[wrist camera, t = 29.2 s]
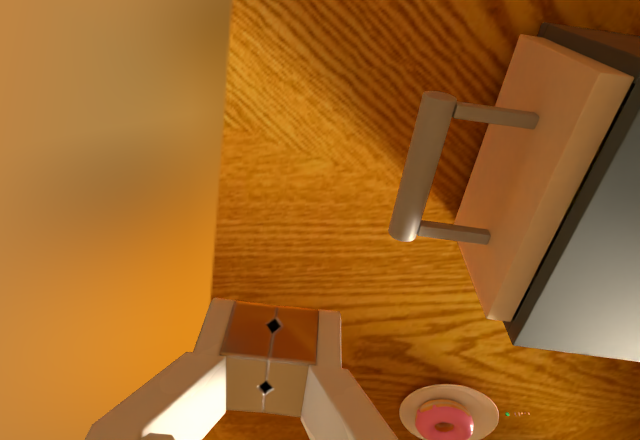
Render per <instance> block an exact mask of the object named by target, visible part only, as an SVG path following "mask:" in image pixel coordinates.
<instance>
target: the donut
mask: <svg viewBox="0 0 640 440" xmlns="http://www.w3.org/2000/svg"><path fill="white" fill-rule="evenodd" d="M514 413H515V412H514ZM521 413H522V412H521ZM524 413H525V412H524ZM518 414H519V416H520V413H519V412H518ZM525 414H526V413H525ZM528 414H529V412H528ZM505 415H506V416H509V413H508V412H506V413H505ZM522 415H523V413H522ZM529 415H530V414H529ZM399 416H400V419H401V422H402V423H403V425H404V427H405V428H406V429H407V430H408V431H409V432H411V433H412V434H414V435H415V436H417V437H419V438H421V439H423V440H480V439H483V438H485V437H486V436H487V435H489V434H490V433H491V432H492V431H493V430H494V429H495V428H496V426H497V424H498V420H499V412H498V409H497V407H496V405H495V404H494V402H493V401H492V400H491V399H490V398H489V397H487V396H486V395H485V394H483V393H481V392H479V391H477V390H475V389H473V388H469V387H466V386H462V385H456V384H436V385H431V386H426V387H423V388H420V389H418V390H416V391H414V392H412V393H411V394H409V395H408V396H407V397H406V398H405V399H404V400H403V402H402V403H401V406H400V409H399ZM515 416H516V413H515Z"/></svg>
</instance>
